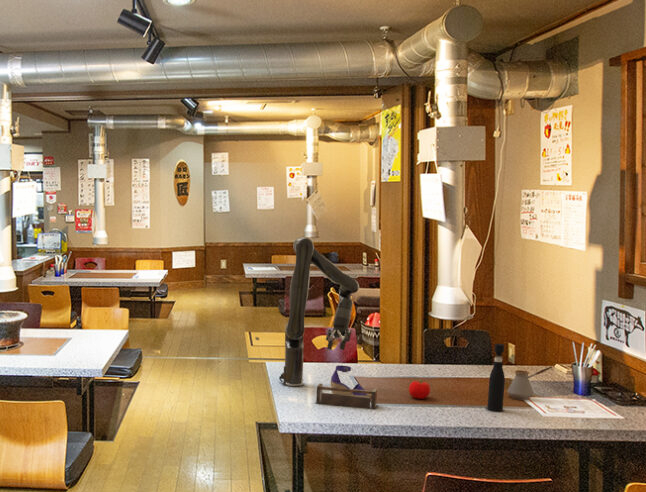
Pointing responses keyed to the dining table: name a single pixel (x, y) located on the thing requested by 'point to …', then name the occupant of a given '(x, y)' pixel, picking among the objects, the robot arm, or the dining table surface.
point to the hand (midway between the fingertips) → (335, 349)
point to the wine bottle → (496, 382)
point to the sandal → (337, 384)
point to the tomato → (419, 389)
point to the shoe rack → (346, 397)
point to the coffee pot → (522, 385)
